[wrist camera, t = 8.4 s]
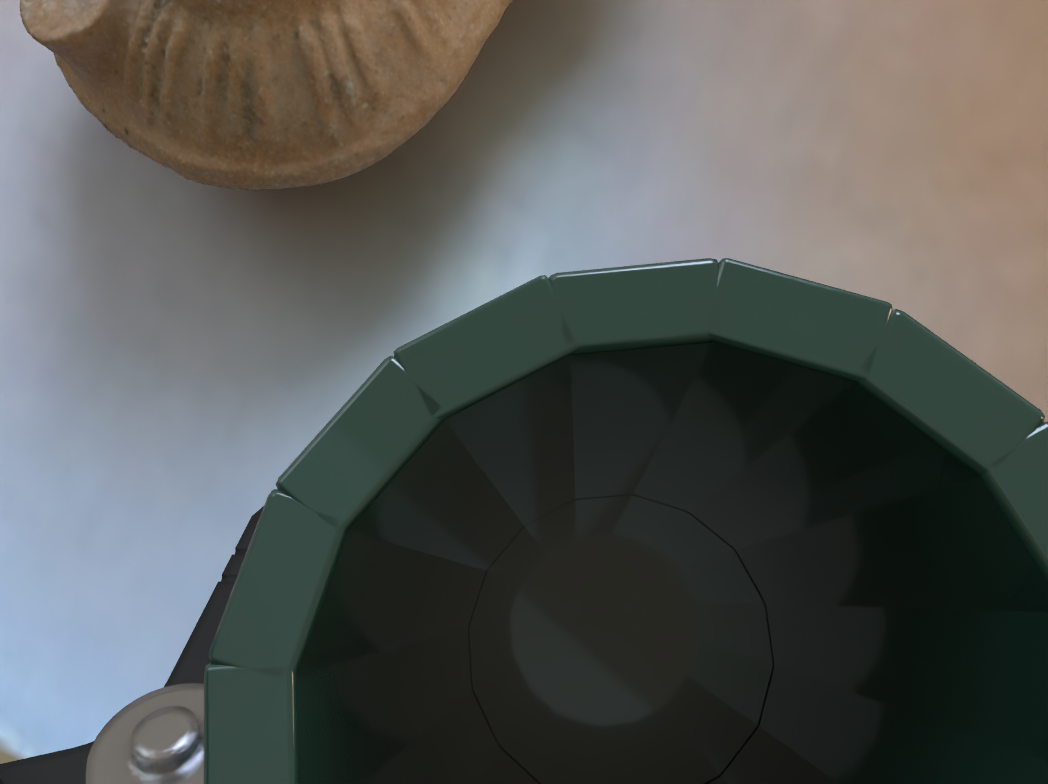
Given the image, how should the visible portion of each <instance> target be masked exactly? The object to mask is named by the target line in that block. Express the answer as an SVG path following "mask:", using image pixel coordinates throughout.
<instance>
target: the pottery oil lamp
mask: <svg viewBox="0 0 1048 784" xmlns="http://www.w3.org/2000/svg"><path fill="white" fill-rule="evenodd" d="M512 1H513V0H20V12H21V17H22V22H23V24H24V26H25V28H26V30H27V32H28V33H29V34H31V36H32V37H33V39H35V40H36V41H38V42H39V43H40V44H42V45H44V46H45V47H47V48H48V49H49V50H51V51H52V52H53V53H54V56H55V59H56V62H57V65H58V66H59V67H60V68H61V70H62V72H63V74H64V76H65V78H66V80H67V82H68V84H69V86H70V87H71V88H72V90H73V92H74V93H75V94H76V96H77V98H78V99H79V101H80V102H81V104H82V105H83V106H84V107H85V108H86V109H87V110H88V111H89V112H90V113H91V114H93V115H94V116H95V117H96V118H97V119H98V121H99V122H101V124H102V125H103V126H104V127H105V128H106V129H107V130H108V131H109V132H110V133H112V134H113V135H114V136H115V137H116V138H119V139H120V140H122V141H123V142H125V143H126V144H127V145H128V146H129V147H131V148H133V149H135V150H138V151H139V152H140V153H142V154H144V155H145V156H147V157H149V158H151V159H152V160H154V161H155V162H157V163H159V164H161V165H163V166H165V167H167V168H170V169H172V170H173V171H175V172H176V173H178V174H179V175H181V176H183V177H185V178H186V179H188V180H192V181H195V182H198V183H202V184H208V185H215V186H219V187H227V188H239V189H246V190H248V189H254V190H260V189H265V188H274V189H279V188H291V187H294V188H297V187H307V186H313V185H320V184H324V183H327V182H331V181H335V180H338V179H341V178H345V177H347V176H350V175H352V174H354V173H357V172H359V171H361V170H363V169H365V168H368V167H369V166H371V165H373V164H374V163H377V162H378V161H380V160H382V159H384V158H385V157H386V156H388V155H389V154H390V153H392V152H393V151H394V150H395V149H396V148H398V147H399V146H401V145H402V144H403V143H404V142H406V141H407V140H408V139H409V138H411V137H412V136H413V135H414V134H415V133H416V132H418V131H419V130H421V129H422V128H423V127H424V126H425V125H426V124H427V123H428V122H429V121H430V120H431V119H432V118H433V117H434V115H435V114H436V113H437V112H438V111H439V110H440V109H441V108H442V107H443V106H444V105H445V104H446V103H447V101H448V100H449V99H450V98H451V97H452V96H453V95H454V93H455V92H456V90H457V88H458V87H459V86H460V84H461V82H462V81H463V80H464V78H465V77H466V75H467V74H468V72H469V70H470V68H471V66H472V65H473V63H474V61H475V59H476V58H477V56H478V54H479V52H480V50H481V48H482V46H483V45H484V43H485V41H486V40H487V38H488V37H489V36H490V34H491V33H492V31H493V30H494V29H495V28H496V27H497V25H498V24H499V21H500V19H501V18H502V15H503V13H504V11H505V10H506V8H507V6H508V5H509V4H510V3H511V2H512Z"/></svg>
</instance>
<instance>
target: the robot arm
mask: <svg viewBox="0 0 1048 784" xmlns="http://www.w3.org/2000/svg"><path fill="white" fill-rule="evenodd" d="M263 508H264V506H263V507H262V508H261V509H260V510H259V511H257V512H256V513H255V514H254V515H253V516H252V517H251V519H250V521H249V523H248V525H247V527H246V529H245V531H244V533H243V534H242V536H241V538H240V540H239V542H238V544H237V546H236V548H235V549H236V552H235V555H232V556H231V558H230V560H229V562H228V564H227V566H226V568H225V570H224V572H223V574H222V581H221V582H218V583H217V585H216V587H215V589H214V591H213V593H212V595H211V597H210V599H209V601H208V603H207V605H206V607H205V609H204V611H203V613H202V615H201V617H200V618H199V620H198V622H197V624H196V626H195V628H194V630H193V632H192V634H191V636H190V638H189V640H188V642H187V644H186V646H185V648H184V650H183V652H182V654H181V656H180V658H179V659H178V661H177V663H176V665H175V667H174V669H173V671H172V673H171V675H170V677H169V679H168V681H167V683H166V684H165V686H164V688H161V689H158V690H155V691H153V692H150V693H148V694H146V695H144V696H142V697H140V698H138V699H136V700H135V701H133V702H132V703H130V704H128V705H127V706H125V707H124V708H123V709H122V710H121V711H119V712H118V713H117V714H116V715H115V716H114V717H113V718H112V719H111V720H110V721H109V722H108V723H107V724H106V725H105V726H104V727H103V729H102V730H101V732H100V733H99V734H98V736H97V737H96V739H95V741H93V742H91V743H88V744H85V745H82V746H78V747H75V748H71V749H66V750H62V751H57V752H53V753H48V754H44V755H39V756H35V757H30V758H26V759H21V760H17V761H12V762H8V763H4V764H0V784H204V670H205V667H206V666H207V665H209V664H211V663H210V662H209V661H208V655H209V650H210V648H211V645H212V642H213V640H214V637H215V634H216V632H217V629H218V627H219V624H220V621H221V619H222V616H223V613H224V611H225V608H226V605H227V603H228V600H229V598H230V595H231V592H232V590H233V587H234V584H235V582H236V579H237V576H238V574H239V571H240V569H241V566H242V563H243V561H244V558H245V555H246V553H247V550H248V548H249V545H250V542H251V540H252V537H253V534H254V532H255V529H256V526H257V524H258V521H259V519H260V516H261V513H262V511H263Z"/></svg>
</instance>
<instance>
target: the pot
mask: <svg viewBox="0 0 1048 784" xmlns="http://www.w3.org/2000/svg"><path fill="white" fill-rule="evenodd" d="M1044 418H1045V415H1044V414H1043V413H1042V411H1041V410H1040V409H1038V408H1037V407H1035V406H1034V405H1033V404H1031V403H1030V402H1028V401H1027V400H1026V399H1024V398H1023V397H1022V396H1020V395H1019V394H1017V393H1016V392H1015V391H1013V390H1012V389H1010V388H1009V387H1008V386H1006V385H1005V384H1003V383H1002V382H1001V381H999V380H998V379H997V378H995V377H994V376H992V375H991V374H990V373H988V372H987V371H985V370H984V369H983V368H981V367H980V366H978V365H977V364H976V363H974V362H973V361H972V360H970V359H969V358H967V357H966V356H965V355H963V354H962V353H960V352H959V351H958V350H956V349H955V348H953V347H952V346H951V345H949V344H948V343H947V342H945V341H944V340H942V339H941V338H940V337H938V336H937V335H935V334H934V333H933V332H931V331H930V330H928V329H927V328H926V327H924V326H923V325H922V324H920V323H919V322H917V321H916V320H915V319H913V318H912V317H910V316H909V315H908V314H906V313H905V312H903V311H900V310H897V309H894V310H892V305H891V304H890V303H888V302H885V301H881V300H878V299H874V298H871V297H867V296H863V295H860V294H856V293H852V292H849V291H845V290H841V289H838V288H834V287H831V286H827V285H823V284H820V283H816V282H812V281H809V280H805V279H801V278H798V277H794V276H790V275H787V274H783V273H780V272H776V271H772V270H769V269H765V268H761V267H758V266H754V265H750V264H747V263H743V262H740V261H736V260H732V259H729V258H725V259H721V260H720V262H719V263H718V261H717V260H716V259H711V258H706V259H696V260H686V261H675V262H665V263H655V264H644V265H634V266H624V267H613V268H603V269H593V270H582V271H572V272H562V273H556V274H554V275H551V276H550V277H549V278H548V277H546V276H545V275H544V276H539V277H537V278H535V279H533V280H531V281H529V282H527V283H525V284H523V285H521V286H519V287H517V288H515V289H513V290H511V291H509V292H507V293H505V294H503V295H501V296H499V297H497V298H495V299H493V300H491V301H489V302H487V303H485V304H484V305H482V306H480V307H478V308H476V309H474V310H472V311H470V312H468V313H466V314H464V315H462V316H460V317H458V318H456V319H454V320H452V321H450V322H448V323H446V324H444V325H442V326H440V327H438V328H436V329H434V330H432V331H430V332H428V333H426V334H424V335H422V336H420V337H418V338H416V339H414V340H412V341H410V342H408V343H406V344H404V345H402V346H401V347H399V348H397V349H396V350H395V351H394V356H390V357H388V358H386V359H385V360H384V361H383V362H382V363H381V364H380V365H379V366H378V367H377V369H376V370H375V371H374V372H373V373H372V374H371V375H370V376H369V377H368V379H367V380H366V381H365V382H364V383H363V384H362V385H361V386H360V388H359V389H358V390H357V391H356V392H355V393H354V394H353V395H352V396H351V398H350V399H349V400H348V401H347V402H346V403H345V404H344V405H343V407H342V408H341V409H340V410H339V411H338V412H337V413H336V414H335V415H334V417H333V418H332V419H331V420H330V421H329V422H328V423H327V424H326V426H325V427H324V428H323V429H322V430H321V431H320V432H319V433H318V434H317V436H316V437H315V438H314V439H313V440H312V441H311V442H310V443H309V445H308V446H307V447H306V448H305V449H304V450H303V451H302V452H301V453H300V455H299V456H298V457H297V458H296V459H295V460H294V461H293V462H292V464H291V465H290V466H289V467H288V468H287V469H286V470H285V471H284V472H283V474H282V475H281V476H280V477H279V478H278V481H277V483H276V486H277V489H274V490H273V491H272V492H271V493H270V494H269V495H268V497H267V500H266V503H265V505H264V508H263V511H262V513H261V516H260V519H259V521H258V524H257V526H256V529H255V532H254V534H253V537H252V540H251V542H250V545H249V548H248V550H247V553H246V555H245V558H244V561H243V563H242V566H241V569H240V571H239V574H238V576H237V579H236V582H235V584H234V587H233V590H232V592H231V595H230V598H229V600H228V603H227V605H226V608H225V611H224V613H223V616H222V619H221V621H220V624H219V627H218V629H217V632H216V634H215V637H214V640H213V642H212V645H211V648H210V650H209V655H208V661H209V662H210V663H211V664H209V665H207V666H206V667H205V670H204V784H1048V421H1044ZM1043 421H1044V422H1043Z"/></svg>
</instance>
